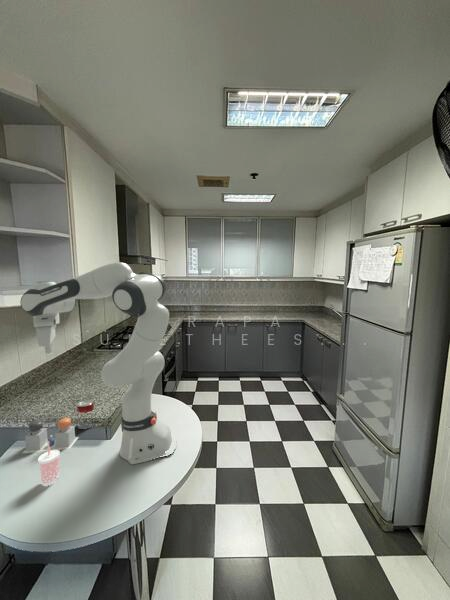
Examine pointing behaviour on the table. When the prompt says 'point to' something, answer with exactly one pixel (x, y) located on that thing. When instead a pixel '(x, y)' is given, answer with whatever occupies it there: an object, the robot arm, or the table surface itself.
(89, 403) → the soda can
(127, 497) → the table surface
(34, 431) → the knob black
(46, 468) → the beverage cup
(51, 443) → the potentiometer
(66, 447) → the mount
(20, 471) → the table surface
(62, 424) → the knob orange
